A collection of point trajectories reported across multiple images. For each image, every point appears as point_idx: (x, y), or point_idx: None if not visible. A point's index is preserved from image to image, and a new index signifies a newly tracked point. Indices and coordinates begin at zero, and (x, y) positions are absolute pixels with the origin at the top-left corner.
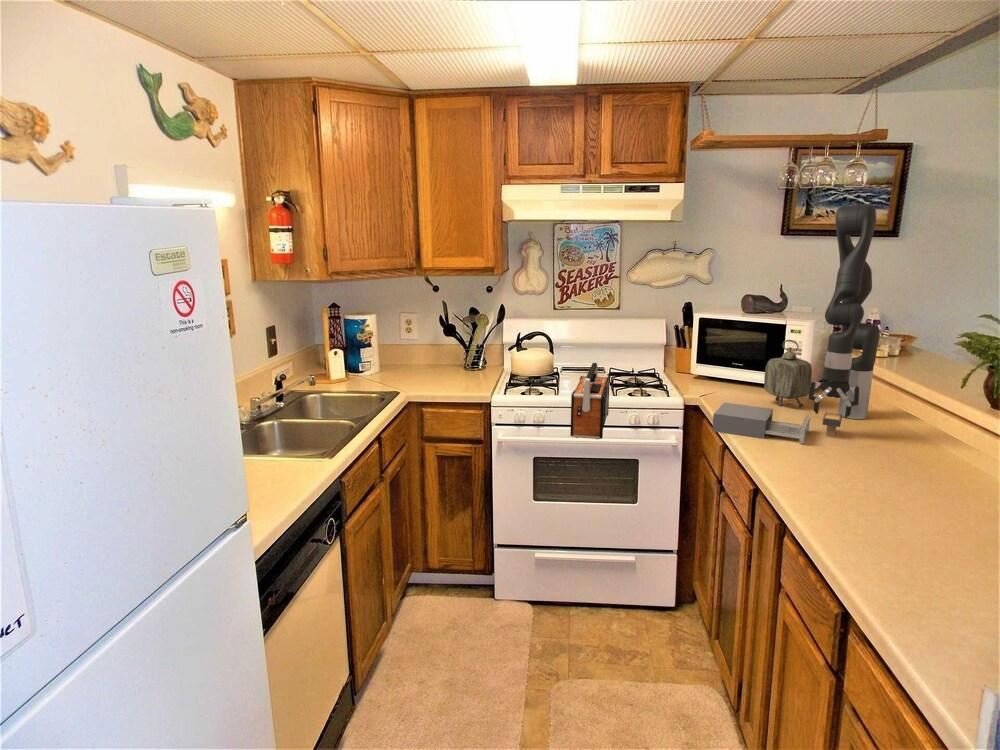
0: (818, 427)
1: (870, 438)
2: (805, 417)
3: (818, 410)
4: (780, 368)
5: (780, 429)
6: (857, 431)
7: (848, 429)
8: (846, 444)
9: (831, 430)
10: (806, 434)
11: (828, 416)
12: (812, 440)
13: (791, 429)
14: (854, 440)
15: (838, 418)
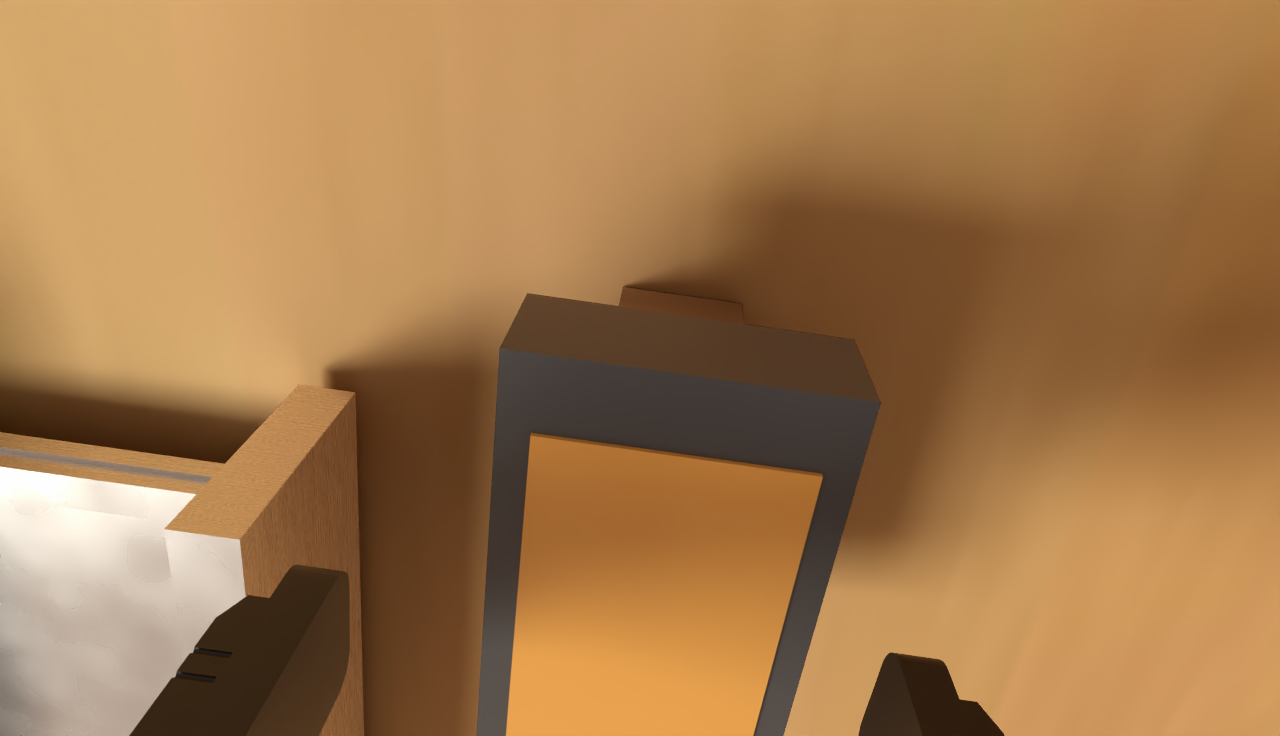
0: (487, 100)
1: (1209, 423)
2: None
3: (329, 600)
4: None
5: (31, 693)
6: (1140, 93)
7: (1006, 15)
8: (803, 730)
9: None
10: (353, 693)
11: (563, 653)
12: (444, 710)
13: (147, 656)
14: (938, 574)
15: (739, 720)
